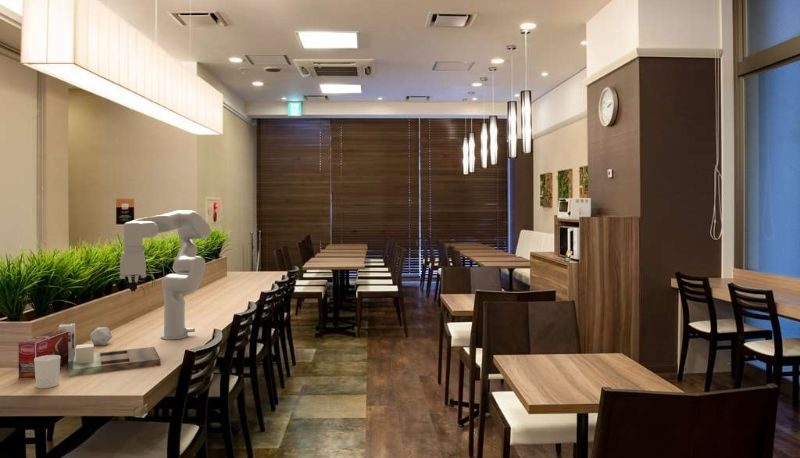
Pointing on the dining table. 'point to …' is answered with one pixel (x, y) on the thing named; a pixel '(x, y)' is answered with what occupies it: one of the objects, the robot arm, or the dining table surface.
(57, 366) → the white cup
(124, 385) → the dining table surface
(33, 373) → the ice cream box
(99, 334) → the die
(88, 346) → the cream block
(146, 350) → the board
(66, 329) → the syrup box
